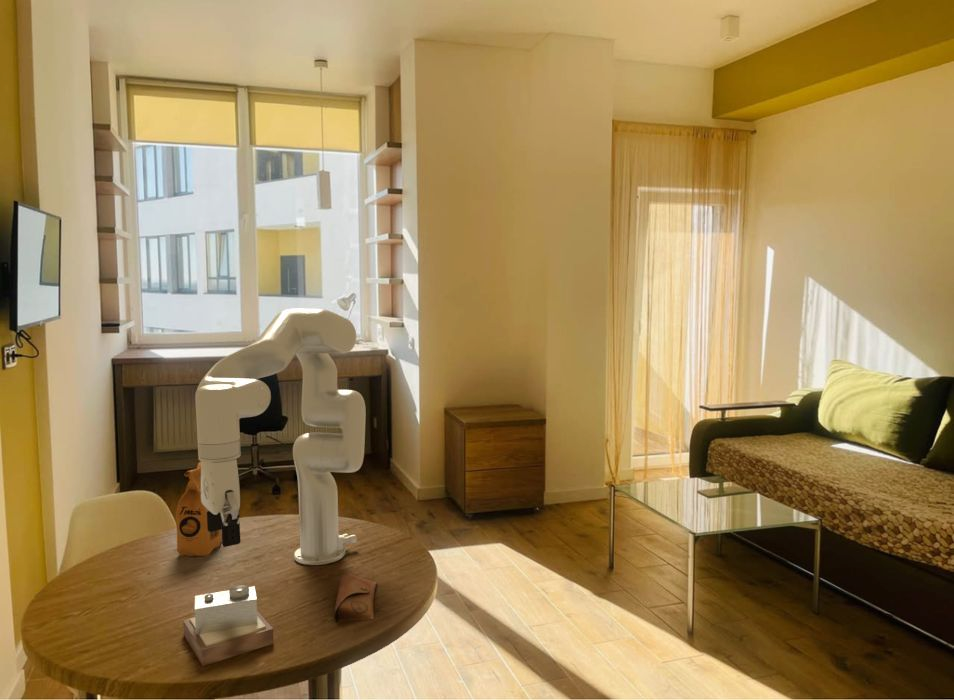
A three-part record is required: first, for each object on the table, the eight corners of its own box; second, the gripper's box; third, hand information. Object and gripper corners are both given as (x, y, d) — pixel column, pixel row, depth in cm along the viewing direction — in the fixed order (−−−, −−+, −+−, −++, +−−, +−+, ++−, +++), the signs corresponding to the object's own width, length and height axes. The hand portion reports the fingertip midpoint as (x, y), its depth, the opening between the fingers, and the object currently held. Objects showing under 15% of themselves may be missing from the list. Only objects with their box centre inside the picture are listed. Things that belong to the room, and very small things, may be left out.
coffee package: (170, 557, 174) (165, 472, 172) (191, 539, 186) (187, 460, 184) (209, 557, 173) (205, 472, 171) (228, 539, 186) (224, 460, 184)
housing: (196, 620, 134) (194, 589, 133) (255, 610, 138) (254, 580, 137) (195, 634, 128) (194, 603, 128) (257, 623, 132) (256, 592, 132)
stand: (249, 615, 143) (249, 599, 142) (273, 643, 131) (272, 626, 131) (183, 634, 135) (182, 618, 135) (202, 666, 124) (201, 648, 123)
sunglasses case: (376, 618, 141) (358, 593, 140) (347, 638, 140) (329, 612, 139) (378, 581, 158) (362, 558, 157) (351, 598, 158) (335, 575, 157)
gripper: (187, 444, 135) (191, 528, 136) (211, 462, 121) (216, 556, 123) (226, 438, 139) (229, 520, 141) (254, 455, 125) (258, 546, 127)
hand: (223, 537), depth 132 cm, fingers open, 9 cm apart
